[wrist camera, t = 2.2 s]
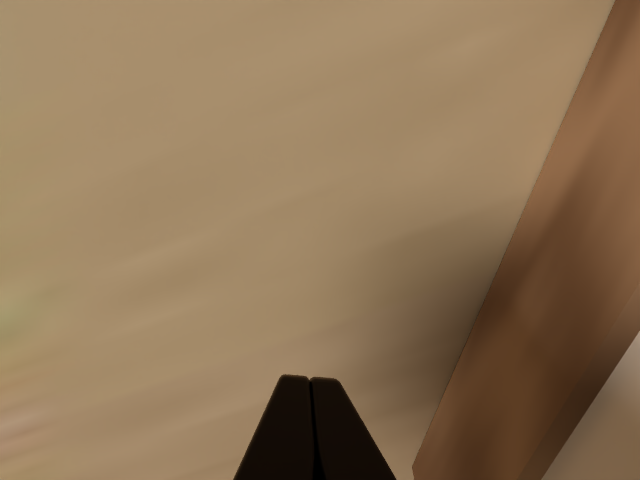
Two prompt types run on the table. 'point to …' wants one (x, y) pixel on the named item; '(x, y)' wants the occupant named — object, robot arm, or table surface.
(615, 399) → the tile
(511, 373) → the brown wooden block
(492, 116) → the table surface
